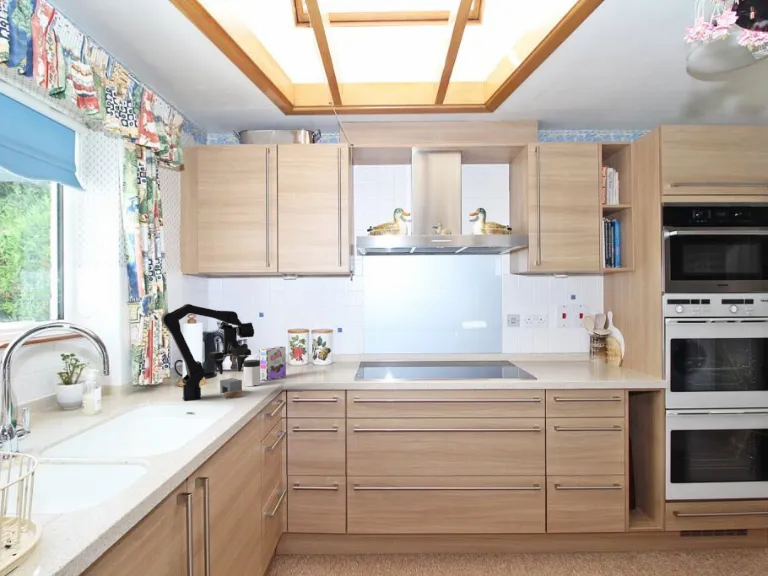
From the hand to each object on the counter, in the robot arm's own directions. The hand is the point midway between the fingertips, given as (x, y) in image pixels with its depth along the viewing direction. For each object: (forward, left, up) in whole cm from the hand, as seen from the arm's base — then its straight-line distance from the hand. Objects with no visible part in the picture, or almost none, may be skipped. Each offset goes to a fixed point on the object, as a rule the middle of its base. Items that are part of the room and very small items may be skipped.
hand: (230, 372), depth 207 cm
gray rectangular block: (0, 0, -9) cm, 9 cm away
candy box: (+27, +24, -10) cm, 37 cm away
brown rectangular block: (-1, -9, -9) cm, 13 cm away
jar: (+13, +13, -10) cm, 21 cm away
